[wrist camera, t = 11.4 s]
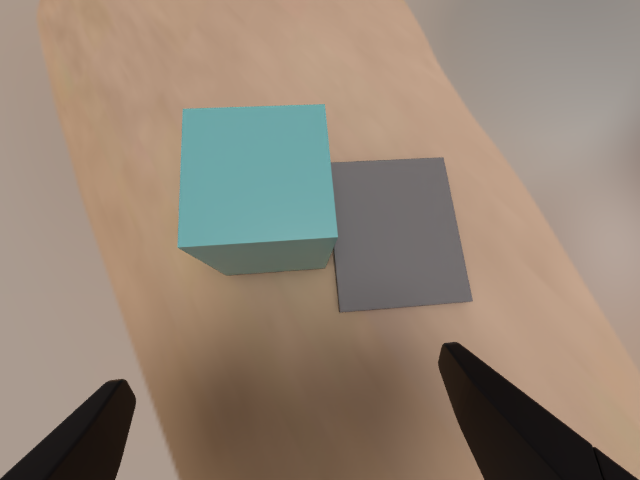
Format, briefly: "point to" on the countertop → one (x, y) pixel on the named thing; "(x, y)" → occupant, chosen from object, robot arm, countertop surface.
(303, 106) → the teal rectangular block
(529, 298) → the countertop surface
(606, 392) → the countertop surface
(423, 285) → the mat
